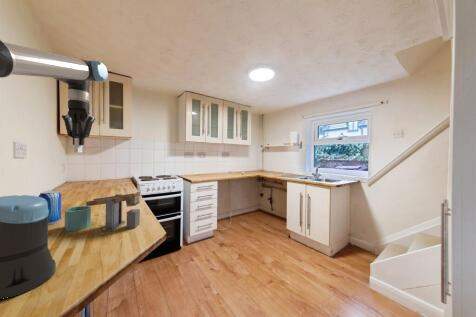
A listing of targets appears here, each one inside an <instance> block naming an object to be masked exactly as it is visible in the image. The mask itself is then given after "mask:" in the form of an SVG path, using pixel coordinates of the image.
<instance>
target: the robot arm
mask: <svg viewBox="0 0 476 317" xmlns="http://www.w3.org/2000/svg"><path fill="white" fill-rule="evenodd" d="M12 75H16V76H27V77H28V76H29V77H41V78H51V79H52V78H53V79H55V80H58V81H59V82H62V83H64V84H67V99H68V100H67V108H68V111H67V114H65V115H63V114H62V115H61V118H62V119H63V122H64V125H65V126H64V127H65V129H66V133H67V136H68V137H69V138H72V145H73V146H74V151H73V152H74V153H83V146H84V145H85V139H86V138H89V137H90V133H91V130H92V126H93V123H94V121H95V120H96V117H95V116H92V115H90V112H89V111H90V85H91V84H90V83H91V82H105V81H107V80H108V76H109V73H108V68H107V66H106V65H105V63H103V62H102V61H100V60H86V59H81V58H78V57H77V58H76V57H71V56H69V55H63V54H59V53H54V52H49V51H45V50H41V49H37V48H31V47H27V46H22V45H17V44H13V43H9V42H6V41H5V42H4V41H3V40H1V39H0V78H2V79H3V78H7V77H9V76H12ZM38 196H39V195H38ZM38 196H35V195H27V194H23V195H15V194H14V195H13V194H12V195H4V196H0V299H3V298H7V297H11V298H13V297H12V296H14V297H16V295H17V296H19V295H22V294H24V293H27V292H29V291H31V290H33V289H35V288H37V287H39V286H40V285H42V284H45V283H46V282H47V281H49V280H50V279H51V278H52V277H53V276H54V275H55V273H56V270H57V267H56V266H57V265H56V261H55V260H54V259H53V257H52V254H51V251H50V249H49V245H48V244H49V243H48V242H49V241H48V239H49V225H48V217H49V210H48V203H47V201H46V200H45V199H44V198H41V197H38ZM7 299H8V298H7Z"/></svg>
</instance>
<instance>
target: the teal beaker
mask: <svg viewBox="0 0 476 317" xmlns="http://www.w3.org/2000/svg"><path fill="white" fill-rule="evenodd" d="M91 216H92V206H86V205H81V206H79V205H78V206H73V207H69V208H66V209H65V210H64V231H66V232H75V231H81V230H85V229H87V228H89V227H91V225H92V224H91V223H92V222H91V221H92V219H91V218H92V217H91Z"/></svg>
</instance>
